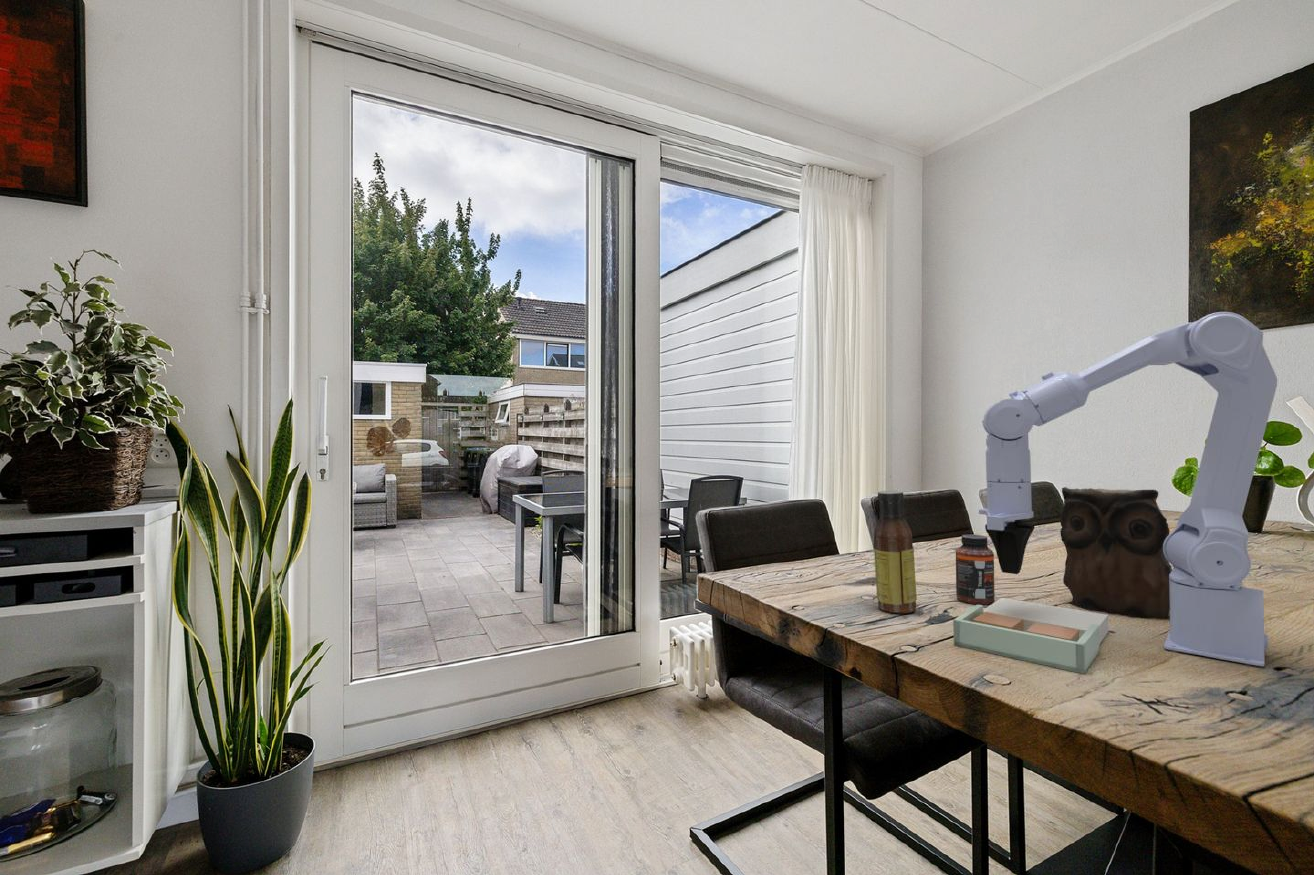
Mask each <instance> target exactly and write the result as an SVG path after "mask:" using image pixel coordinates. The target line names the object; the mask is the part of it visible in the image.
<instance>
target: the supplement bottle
mask: <svg viewBox="0 0 1314 875" xmlns="http://www.w3.org/2000/svg"><path fill="white" fill-rule="evenodd" d="M988 542H989V541H988V537H987V536H986V535H981V534H963V535H961V541H960V543H961V544H962V545H960V546H959V547H957V548H956V550H955V588H956V589H955V590H956V592H955V593H956V598H957V599H958V600H960V601H961V602H965V603H968V604H975V605H977V604H978V605H991V604H993V603H994V602H995V554H994V552H993V550H992V549H991V548H989V546H988V544H989V543H988Z"/></svg>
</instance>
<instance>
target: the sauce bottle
mask: <svg viewBox="0 0 1314 875" xmlns="http://www.w3.org/2000/svg"><path fill="white" fill-rule="evenodd" d="M904 495H905V494H904V492H903V491H901V490H881V491H878V492H877V501H878V502H879V503H878V504H879V514H878V515H879V519H878V521H877V524H876V526H875V528H874V530H873V534H874V535H873V549H874V550H873V553H874V572H875V584H876V588H875V589H876V599H877V602H878V603H877V604H878V608H879V609H880V610H882V611H884V612H886V613H891V614H899V615H900V614H901V615H902V614H911V613H914V612H915V611H916V610H917V599H918V598H917V597H918V596H917V581H916V569H915V568H916V567H915V566H916V565H915V564H916V563H915V550H914V548H915V547H914V545H913V535H912V534H913V533H912V528H911V527H910V525H909V524H908V522H907V521H906V518H905V514H904V503H903V502H904V500H905V497H904Z"/></svg>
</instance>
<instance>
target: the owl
mask: <svg viewBox="0 0 1314 875" xmlns="http://www.w3.org/2000/svg"><path fill="white" fill-rule="evenodd" d="M1061 492H1062V493H1061V494H1062V497H1063V507H1062V509H1061V512H1060V517H1059V518H1060V522H1059V523H1060V526H1061V529H1060V538H1061V541H1062V543H1063V545H1064V548H1065V551H1066V558H1065V562H1064V565H1065V566H1064V567H1065V568H1064V572H1063V578H1062V581H1063V584H1064V586H1066V588H1068V590H1069V592H1070V594H1071V596H1072V599H1071V602H1070V603H1069V604H1070V605H1071V606H1075V607H1077V608H1080V609H1082V610H1084V611H1088V612H1097V613H1099V612H1100V613H1106V614H1107V615H1117V616H1124V617H1128V618H1132V619H1133V618H1138V619H1139V618H1140V619H1164V620H1165V619H1166V620H1170V593H1169V574H1170V573H1171V572H1172V570H1173V567H1172V565H1171V564H1170V563H1169V562H1168V561H1167V559H1166V558H1165V556H1164V553H1163V544H1164V541H1165V539H1166V537H1167V536H1168V535H1169V534H1170V533H1171V532H1170V528H1169V523H1168V520H1167V517H1165V516H1164V514H1163V512H1162V511H1161V509H1160V507H1159V505H1158V503H1157V499H1158V497H1159V491H1158V490H1156V489H1136V490H1133V489H1108V488H1096V489H1095V488H1091V487H1090V488H1068V487H1066V486H1064V487H1062V488H1061Z"/></svg>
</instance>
